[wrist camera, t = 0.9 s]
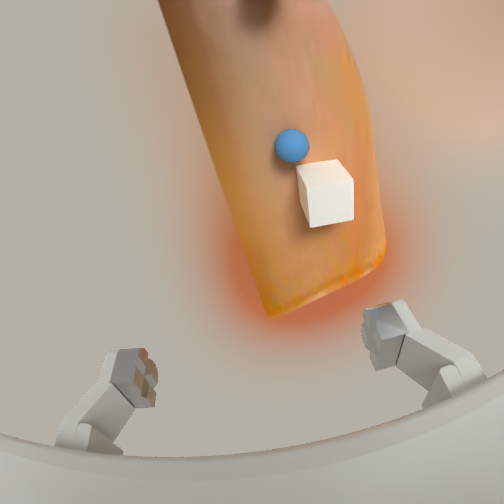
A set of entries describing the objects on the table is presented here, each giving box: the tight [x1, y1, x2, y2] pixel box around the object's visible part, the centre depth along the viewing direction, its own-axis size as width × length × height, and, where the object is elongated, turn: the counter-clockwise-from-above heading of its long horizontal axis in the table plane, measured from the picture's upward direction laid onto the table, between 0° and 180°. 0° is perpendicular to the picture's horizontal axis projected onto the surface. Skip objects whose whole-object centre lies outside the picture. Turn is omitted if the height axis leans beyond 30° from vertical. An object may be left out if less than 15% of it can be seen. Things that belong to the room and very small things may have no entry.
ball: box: [275, 129, 309, 163], centre depth 43 cm, size 5×5×5 cm
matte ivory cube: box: [296, 159, 354, 228], centre depth 47 cm, size 7×7×8 cm
